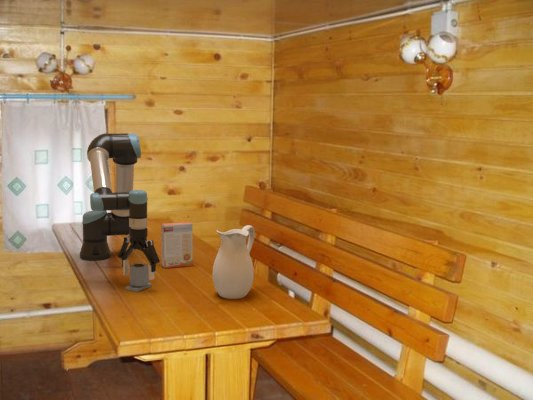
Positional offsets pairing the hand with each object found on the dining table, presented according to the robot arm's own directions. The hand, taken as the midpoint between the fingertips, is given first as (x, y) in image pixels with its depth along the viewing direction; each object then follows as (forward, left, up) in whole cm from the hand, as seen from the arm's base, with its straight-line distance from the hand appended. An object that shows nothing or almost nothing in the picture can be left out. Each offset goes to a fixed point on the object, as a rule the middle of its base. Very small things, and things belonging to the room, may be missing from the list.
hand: (138, 276), depth 269 cm
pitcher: (+39, +16, -5) cm, 42 cm away
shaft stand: (0, 0, -5) cm, 5 cm away
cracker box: (-7, +37, -5) cm, 38 cm away
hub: (0, 0, -3) cm, 3 cm away
